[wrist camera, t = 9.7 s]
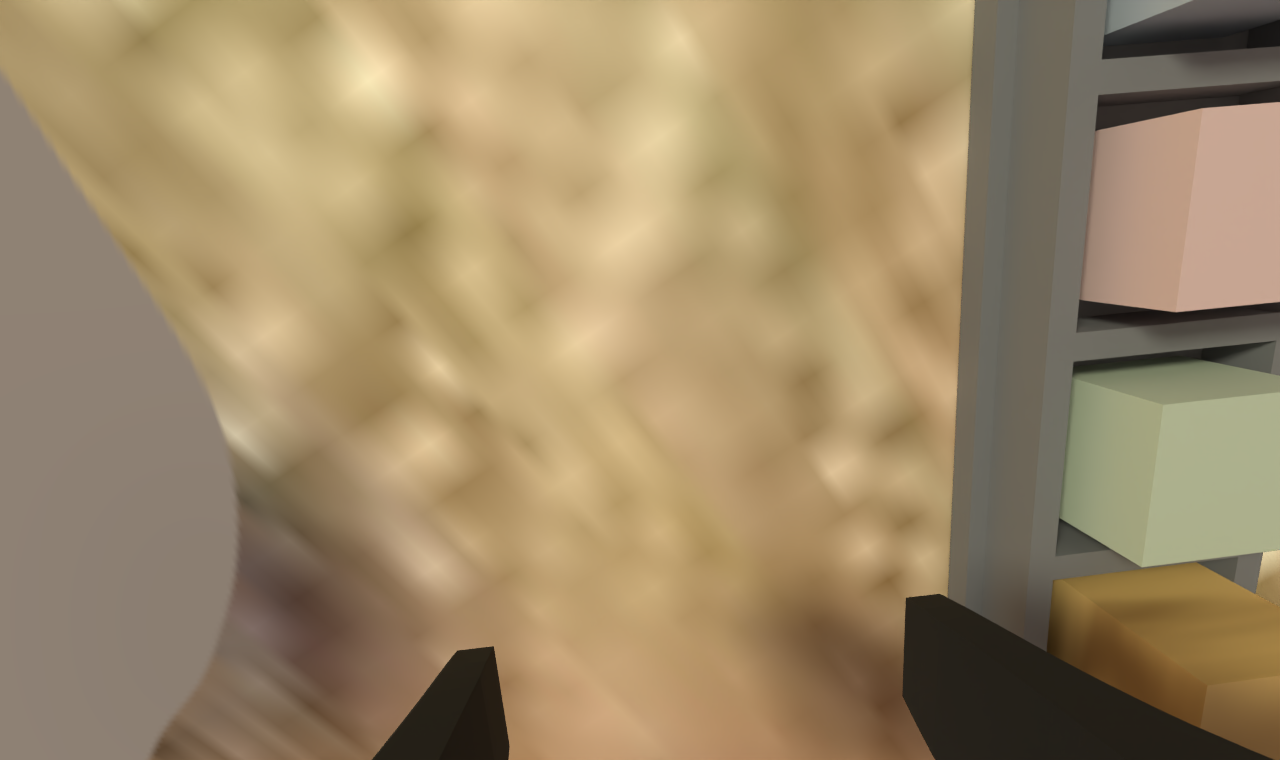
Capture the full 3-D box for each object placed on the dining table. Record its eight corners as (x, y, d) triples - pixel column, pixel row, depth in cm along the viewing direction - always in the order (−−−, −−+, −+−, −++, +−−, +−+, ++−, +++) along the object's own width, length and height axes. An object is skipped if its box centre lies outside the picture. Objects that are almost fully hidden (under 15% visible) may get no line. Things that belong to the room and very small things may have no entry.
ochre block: (1139, 652, 21) (1343, 807, 16) (1020, 668, 21) (1182, 832, 15) (1154, 540, 20) (1380, 661, 15) (1029, 555, 20) (1207, 685, 14)
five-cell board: (1159, 691, 23) (1309, 811, 18) (942, 721, 23) (1037, 852, 18) (1350, -588, 14) (1737, -1010, 10) (1001, -585, 14) (1222, -1027, 9)
